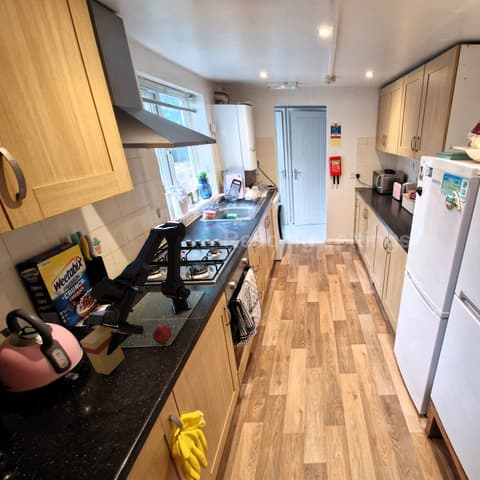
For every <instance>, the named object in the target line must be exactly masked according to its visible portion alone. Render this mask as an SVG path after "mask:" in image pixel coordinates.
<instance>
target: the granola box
mask: <svg viewBox="0 0 480 480" xmlns="http://www.w3.org/2000/svg"><path fill="white" fill-rule="evenodd" d="M111 332H114V329H112V328H110V327H104V326H99V327H98V328H96V329H95V330H94V331H93V332H92V331H91V332H90V333H89V334H87V335H86V336H85V337H84V338H83V339H81V340H80V344H81V346H82V349H83V350H84V352H85V353H86V356H87V357H88V359H89V361H90V363H91V365H92V367H93V368H94V370H95V372H96V373H98V374H103V375H107V376H108V375H109V376H110V374H111V373H112V372H113V371H114V370H115V368H117V367H118V366H119V365H120V364H121V363H122V362H123V361H124V360H125V359H126V357H125V355H124V353H123V350H122V348H121V345H119V346H118V347H117V348H116V349H115V350H114V351H113V352H112V354H111V355H106V354H107V350H108V347H109V345H110V342H111V339H112V335H111Z"/></svg>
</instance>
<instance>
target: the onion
mask: <svg viewBox="0 0 480 480" xmlns="http://www.w3.org/2000/svg"><path fill="white" fill-rule="evenodd" d="M171 336H172V330H171V328H169V327H168V326H166V325H163V324H161V323H160V324H159V325H158V326H157V328H155V330H154V331H153V333H152V339H153V341H154V342H156V343H157V344H166V343H167V342H168V341H169V340H170V338H171Z"/></svg>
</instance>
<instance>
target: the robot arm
mask: <svg viewBox="0 0 480 480" xmlns="http://www.w3.org/2000/svg"><path fill="white" fill-rule="evenodd" d="M186 234H187V226H186V224H185V223H184V222H181V221H170V220H169V221H166V222H165V223H163V224H160V225H157V226H155V227H152V228H151V229H150V231H149V234H148V236H147V237H146V239H145V241H144V242H143V245H142V247H141V248H140V250H139V252H138V253H137V255H136V257H135V258H134V260H133V261H131V262H129V263H128V264H127V265H126V266H125V267H124V268H123V270H122V271H121V273H120V274H118V275H117V276H116V277H114V278H109V277H102V279H101V280H100V281H98V282H97V283H95V284H94V285H93V286H92V288H91V289H90V297H91V298H92V299H93V300H98V301H104V302H107V303H108V302H109V303H111V305H109V304H108V305H106V307H105V309H103V310H97V311H92V312H88V315H87V317H86V318H84V319H83V321H82V323H81V326H83V327H89V331H91V332H93V331H94V330H95V329H96V328H98V327H99V326H104V327H110V328H112V330H116V331H113V332H111V335H112V339H111V342H110V345H109V347H108V350H107V354H106V355H111V354H112V352H113V351H114V350H115V349H116V348H117V347H118V346H121V344H122V343H123V342H125V341H126V340H127V339H128V338H130V337H131V336H133V335H143V333H144V329H145V328H144V325H143V324H142V325H141V324H136V323H135V324H134V323H130V322H129V321H127V320H128V318H129V315H130V313H132V314H133V313H134V311H135V309H132V308H133V307H134V306H133V305H134V304H135V301H136V298H137V296H138V295H143V294H144V291H143V290H142V288H141V286H143V285H145V284H147V281H148V278H149V276H150V274H151V268H150V267H151V263H152V261H153V260H154V258H155V256H156V254H157V252H158V250H159V248H160V247H161V245H162V243H163V241H164V240H165V241H166V243H167V252H166V253H167V255H166V257H167V258H166V264H167V265H166V277H165V279H164V280H163V281H161V282H160V292H161V294H162V296H164V297H166V299H171V302H172V305H171V309H172V310H173V312H174V314H175V315H176V314H179V313H182V312H184V311H189V310H190V309H191V308H192V307H191V305H190V303H189V301H188V298H190V295H191V292H192V291H191V289H190V288H186V286H185V281H184V280H183V278H182V276H181V268H182V267H181V265H182V263H181V262H182V260H181V259H182V242H183V241H184V239H185V238H186Z"/></svg>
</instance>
